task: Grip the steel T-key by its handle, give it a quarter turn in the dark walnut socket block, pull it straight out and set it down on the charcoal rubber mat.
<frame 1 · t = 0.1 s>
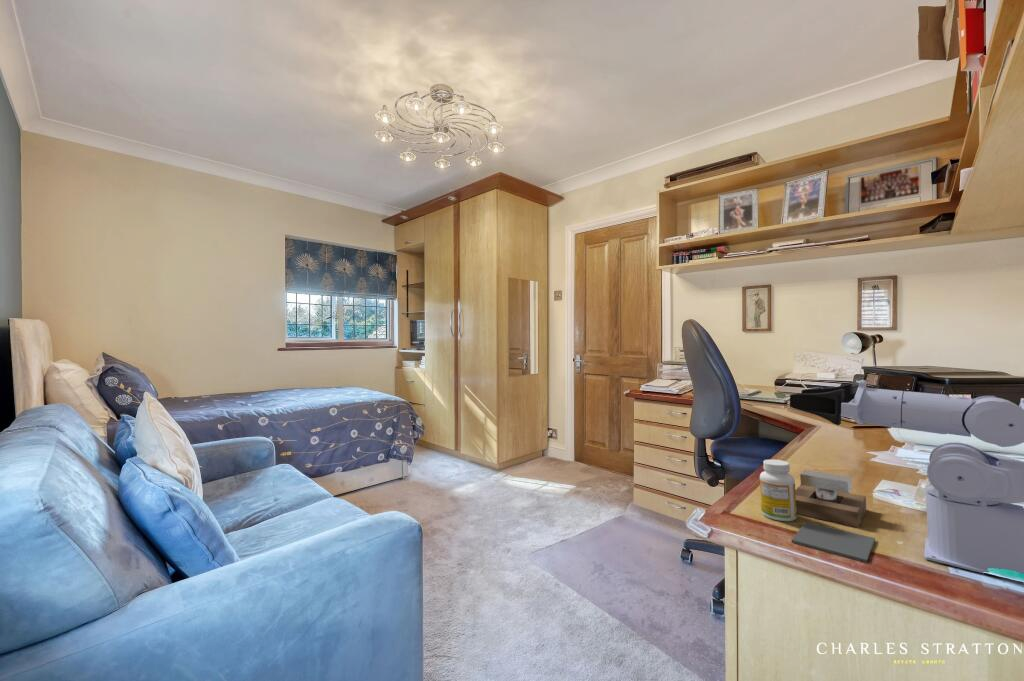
hand: (796, 397, 72), 22 cm above the table, tool horizontal, fingers open, 7 cm apart
socket block: (827, 510, 76), on the table
steel t key: (826, 493, 76), in the socket block
charcoal mat: (833, 541, 64), on the table
supplement bottle: (778, 516, 74), on the table
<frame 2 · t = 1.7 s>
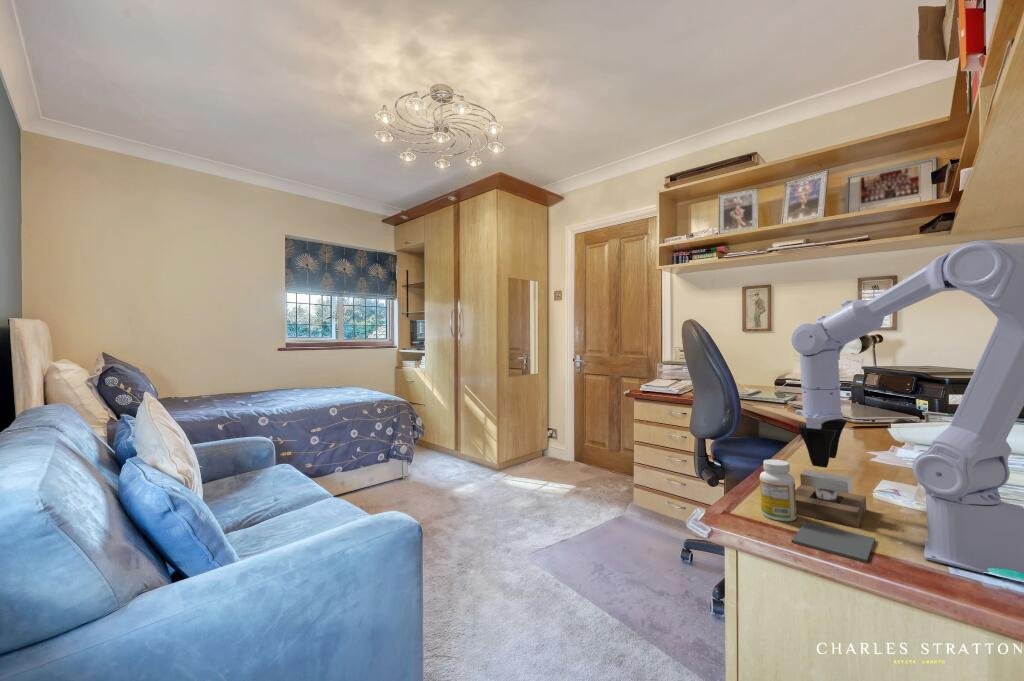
hand: (824, 461, 76), 9 cm above the table, tool pointing down, fingers open, 7 cm apart
nothing on the table moved.
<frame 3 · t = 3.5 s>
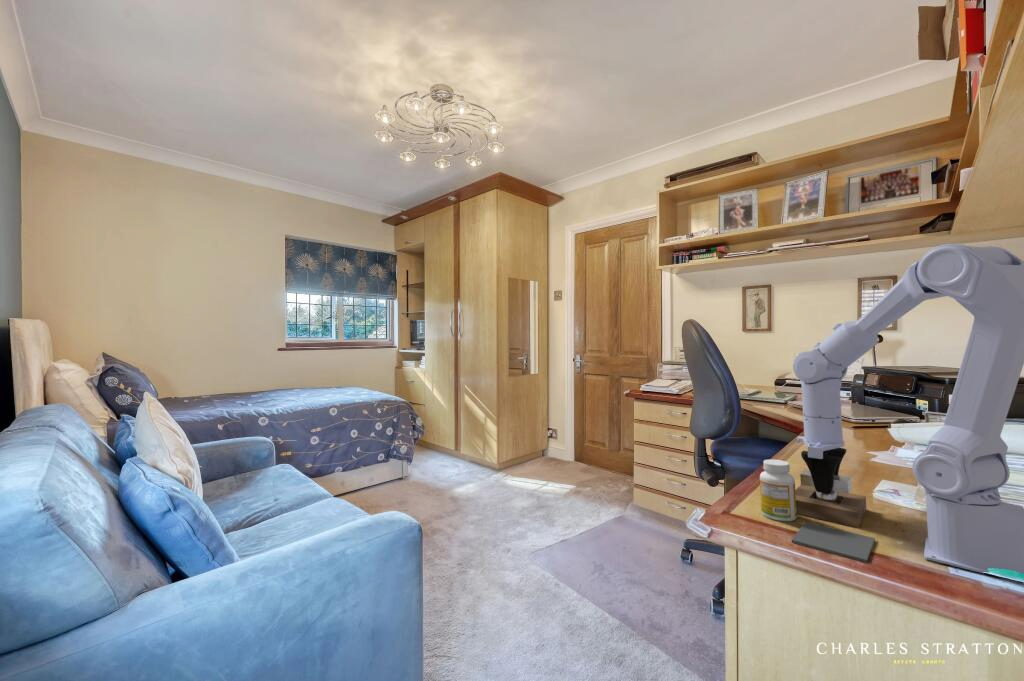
hand: (825, 489, 76), 4 cm above the table, tool pointing down, fingers closed on steel t key, 3 cm apart
steel t key: (826, 493, 76), in the socket block, touching gripper
everything else where it was.
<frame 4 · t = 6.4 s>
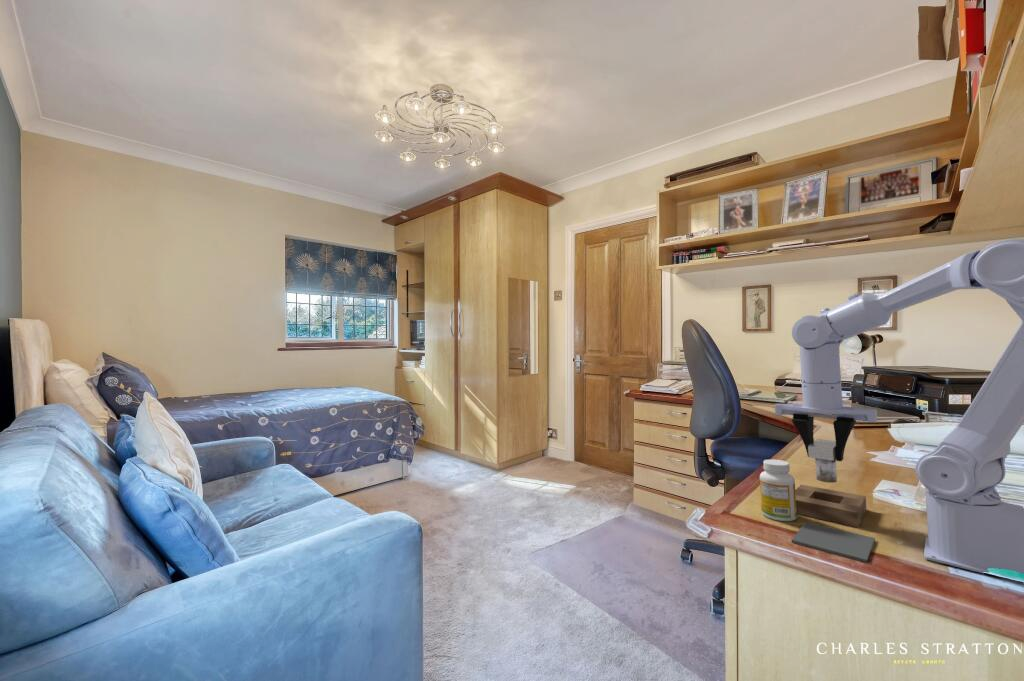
hand: (825, 458, 74), 10 cm above the table, tool pointing down, fingers closed on steel t key, 3 cm apart
steel t key: (825, 461, 74), point 10 cm above the table, touching gripper
everything else where it was.
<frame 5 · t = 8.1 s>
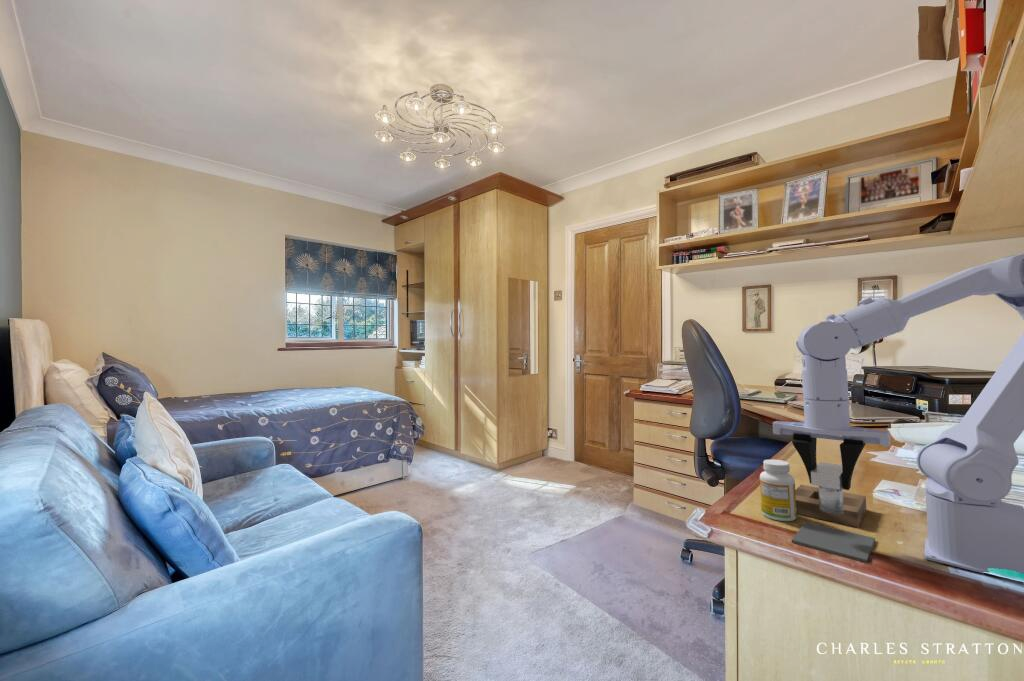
hand: (830, 485, 64), 9 cm above the table, tool pointing down, fingers closed on steel t key, 3 cm apart
steel t key: (830, 489, 64), point 8 cm above the table, touching gripper
everything else where it was.
when the fingers open (6 cm above the table, at t = 9.5 s): steel t key drops 1 cm, resting on charcoal mat.
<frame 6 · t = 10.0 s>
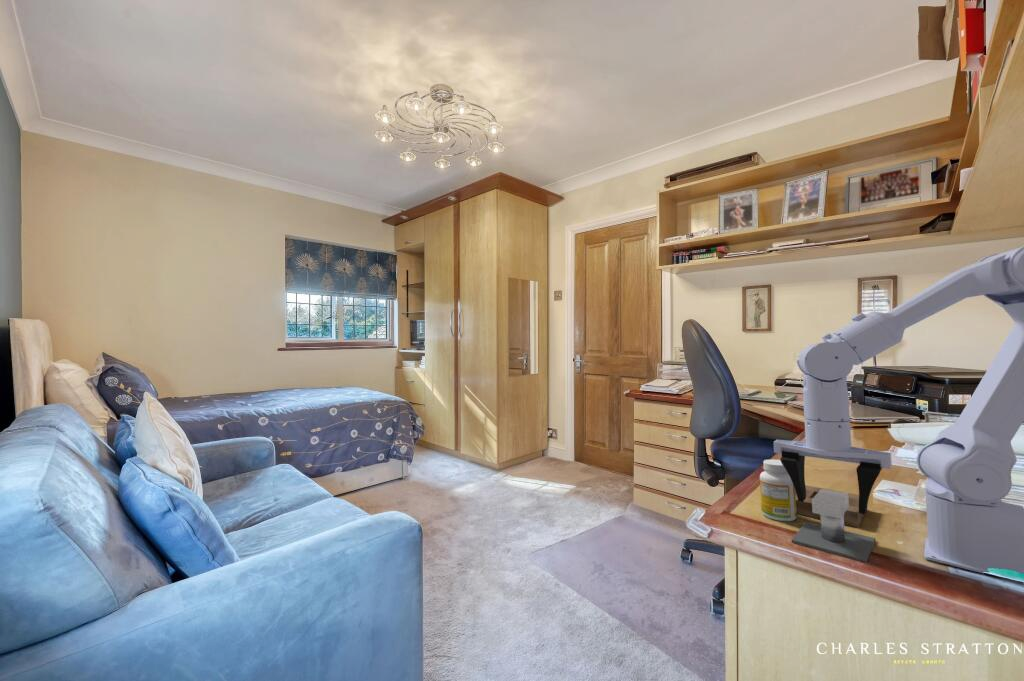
hand: (831, 505, 64), 6 cm above the table, tool pointing down, fingers open, 7 cm apart
steel t key: (831, 517, 64), on the charcoal mat
everything else where it was.
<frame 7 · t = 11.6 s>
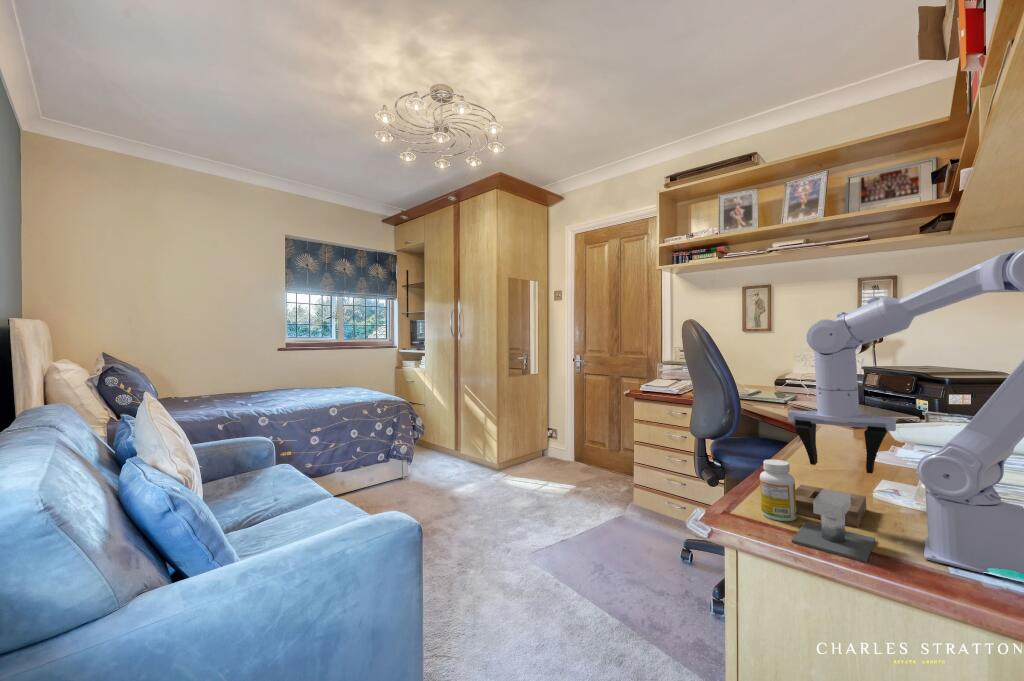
hand: (840, 467, 71), 9 cm above the table, tool pointing down, fingers open, 7 cm apart
nothing on the table moved.
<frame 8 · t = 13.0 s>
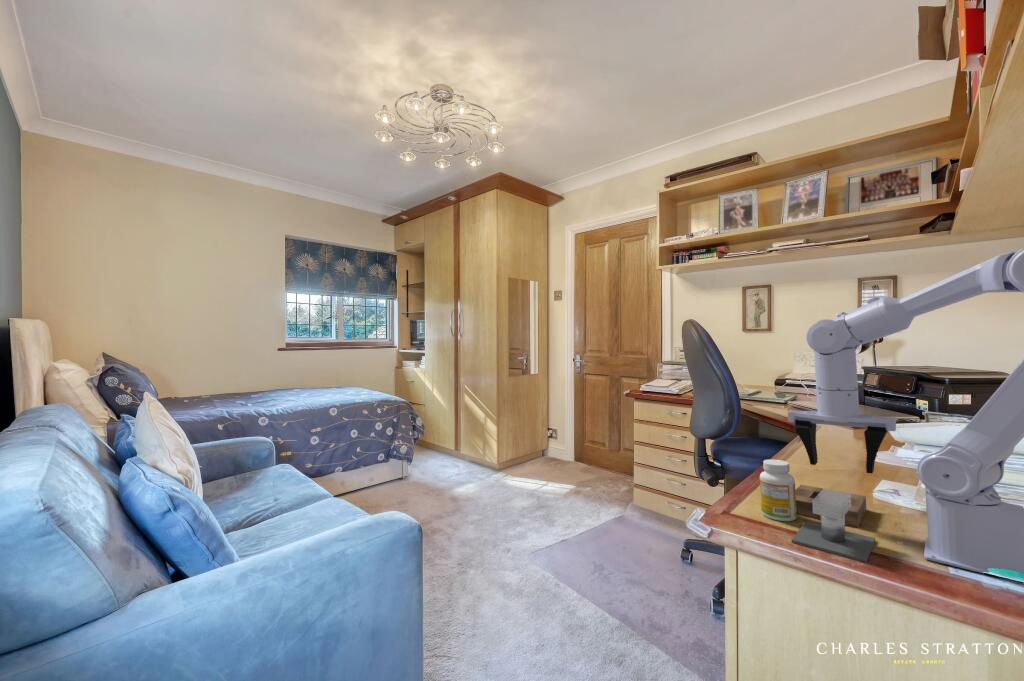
hand: (840, 467, 71), 9 cm above the table, tool pointing down, fingers open, 7 cm apart
nothing on the table moved.
at the end: steel t key inside the target area on the charcoal mat (0.2 cm from its centre), point 3.7 cm above the charcoal mat's base; steel t key touching charcoal mat; the gripper is holding nothing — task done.
